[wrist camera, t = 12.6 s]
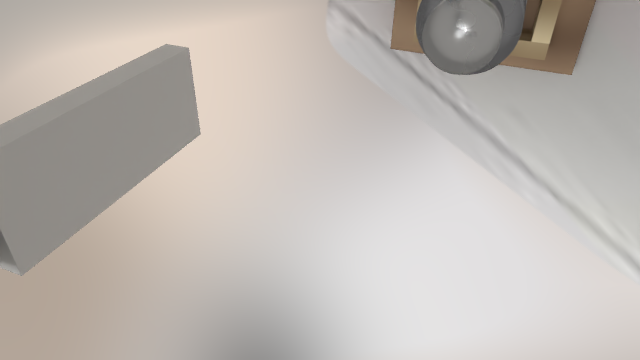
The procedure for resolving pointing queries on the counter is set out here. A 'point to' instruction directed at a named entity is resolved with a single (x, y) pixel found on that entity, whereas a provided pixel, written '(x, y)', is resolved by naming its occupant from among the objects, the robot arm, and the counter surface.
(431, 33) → the grey cylinder
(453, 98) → the counter surface
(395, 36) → the tool stand
